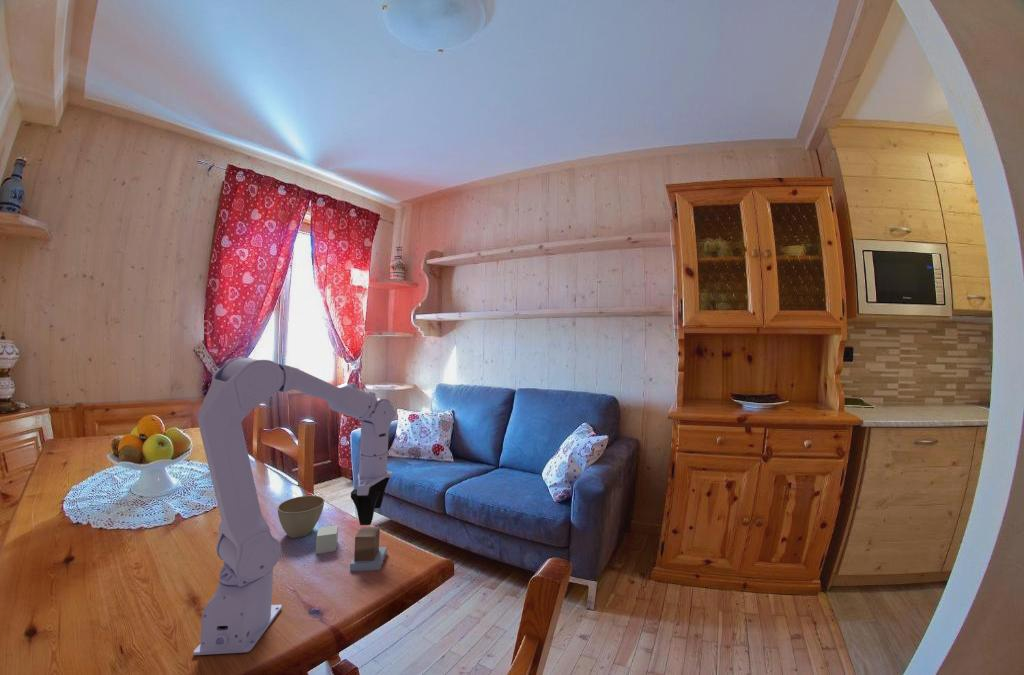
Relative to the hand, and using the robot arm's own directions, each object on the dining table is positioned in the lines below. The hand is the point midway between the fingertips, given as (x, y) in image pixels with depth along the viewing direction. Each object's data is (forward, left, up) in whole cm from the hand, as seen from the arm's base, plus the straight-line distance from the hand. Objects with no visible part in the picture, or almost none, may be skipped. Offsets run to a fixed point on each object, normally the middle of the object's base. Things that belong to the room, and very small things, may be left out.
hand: (370, 515), depth 77 cm
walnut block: (0, 0, -8) cm, 8 cm away
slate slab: (0, 0, -10) cm, 10 cm away
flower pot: (+13, +20, -10) cm, 26 cm away
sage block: (+6, +11, -10) cm, 16 cm away
